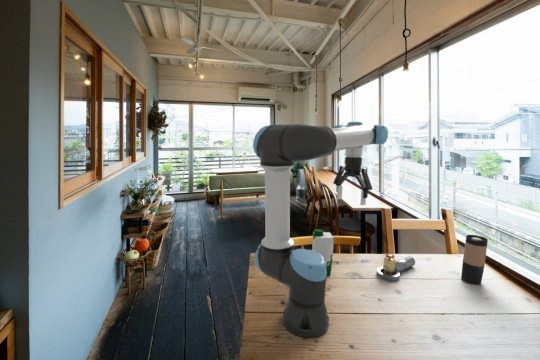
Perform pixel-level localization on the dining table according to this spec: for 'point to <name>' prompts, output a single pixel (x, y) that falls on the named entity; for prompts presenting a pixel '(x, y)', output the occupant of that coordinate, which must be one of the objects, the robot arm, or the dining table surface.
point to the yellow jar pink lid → (389, 265)
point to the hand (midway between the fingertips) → (350, 202)
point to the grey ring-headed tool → (397, 269)
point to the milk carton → (323, 247)
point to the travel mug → (474, 259)
